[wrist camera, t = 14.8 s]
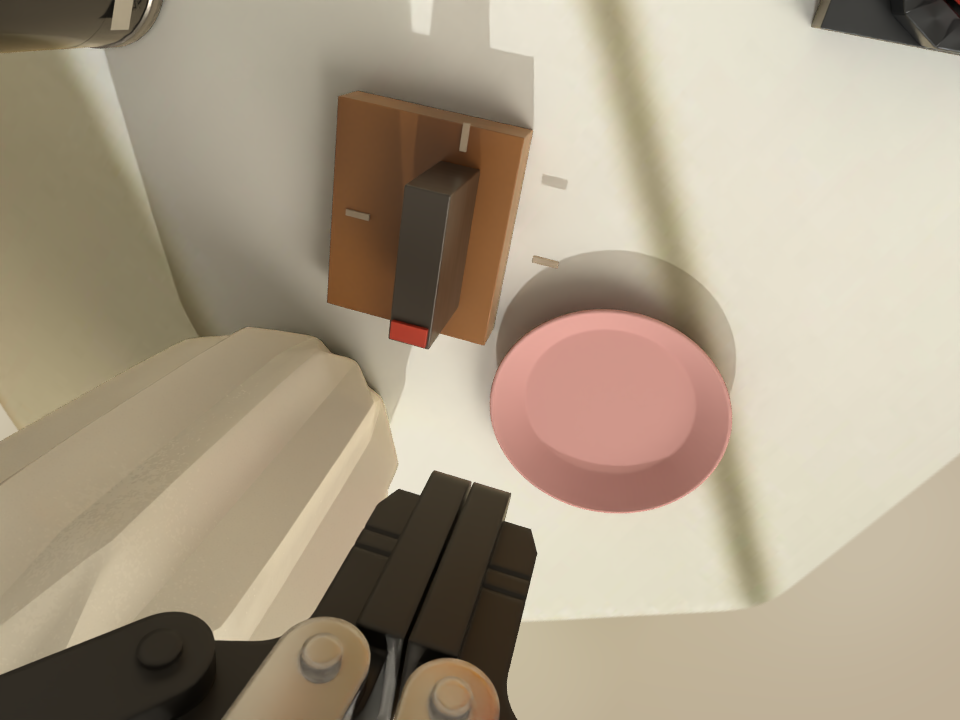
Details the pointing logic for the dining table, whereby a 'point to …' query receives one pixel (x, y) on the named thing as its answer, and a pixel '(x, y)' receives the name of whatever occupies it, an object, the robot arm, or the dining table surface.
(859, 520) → the dining table surface
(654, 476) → the plate
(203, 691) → the robot arm
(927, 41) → the button block
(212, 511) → the vase
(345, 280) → the oak panel
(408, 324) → the bar knob
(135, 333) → the dining table surface
